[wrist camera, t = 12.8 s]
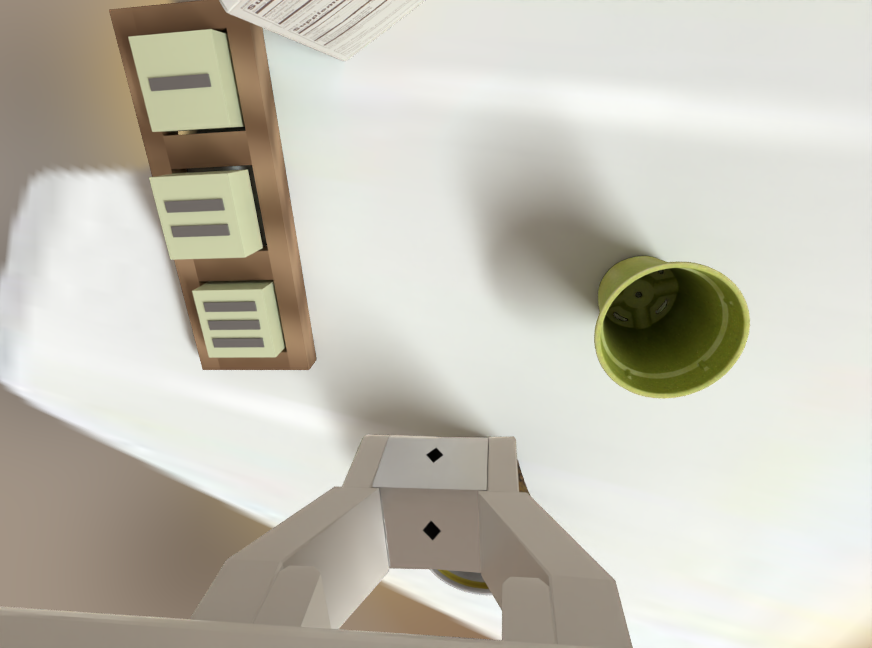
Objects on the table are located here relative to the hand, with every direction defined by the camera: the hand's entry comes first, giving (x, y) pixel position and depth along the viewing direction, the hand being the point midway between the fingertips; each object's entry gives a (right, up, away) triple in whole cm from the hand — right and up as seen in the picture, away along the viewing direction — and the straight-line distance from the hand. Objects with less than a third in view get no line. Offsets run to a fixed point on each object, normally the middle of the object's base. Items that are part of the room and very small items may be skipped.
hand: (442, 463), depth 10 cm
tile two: (-17, +12, +29) cm, 35 cm away
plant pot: (+16, +5, +30) cm, 34 cm away
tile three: (-16, +4, +34) cm, 38 cm away
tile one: (-17, +21, +27) cm, 38 cm away
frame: (-17, +12, +31) cm, 37 cm away
